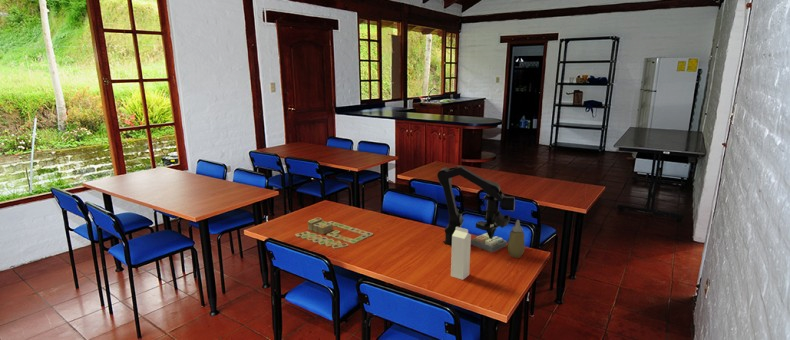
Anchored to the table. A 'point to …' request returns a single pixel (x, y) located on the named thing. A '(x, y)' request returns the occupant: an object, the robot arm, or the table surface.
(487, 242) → the tile cream
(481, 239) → the tile terracotta
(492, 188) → the robot arm
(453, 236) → the milk
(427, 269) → the table surface
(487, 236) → the tile sage
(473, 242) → the bezel board
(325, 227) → the pile of dominoes
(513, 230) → the squeeze bottle
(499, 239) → the tile bluegrey
